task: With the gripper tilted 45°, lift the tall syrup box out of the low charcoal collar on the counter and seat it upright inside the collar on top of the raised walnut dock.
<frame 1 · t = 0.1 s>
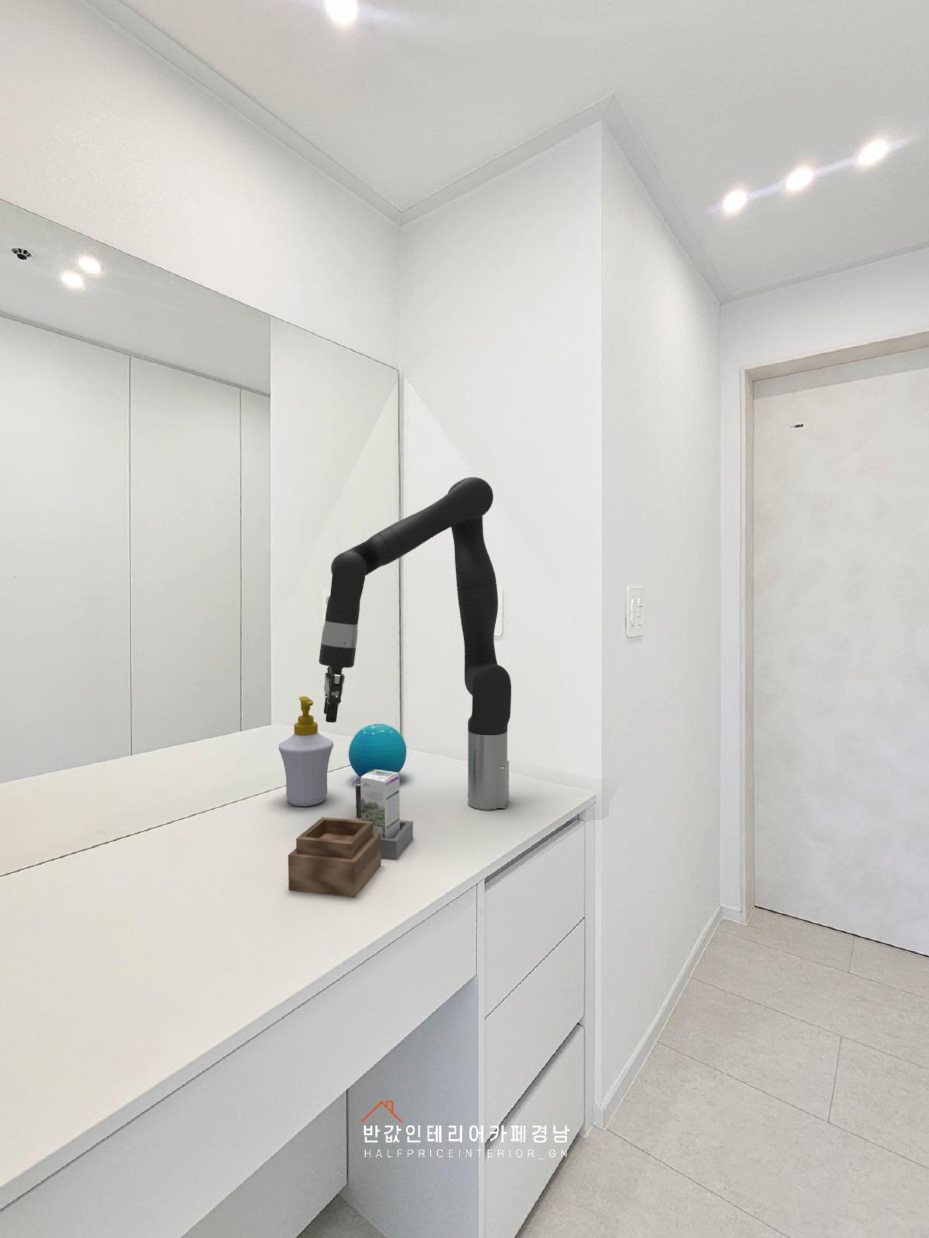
hand: (329, 717, 135), 22 cm above the table, tool pointing down, fingers open, 8 cm apart
syrup box: (380, 847, 123), resting in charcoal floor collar
decorative orb: (378, 781, 163), on the table
soap bottle: (307, 801, 148), on the table
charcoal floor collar: (380, 845, 123), on the table
walnut raised dock: (336, 877, 110), on the table
box: (372, 814, 140), on the table
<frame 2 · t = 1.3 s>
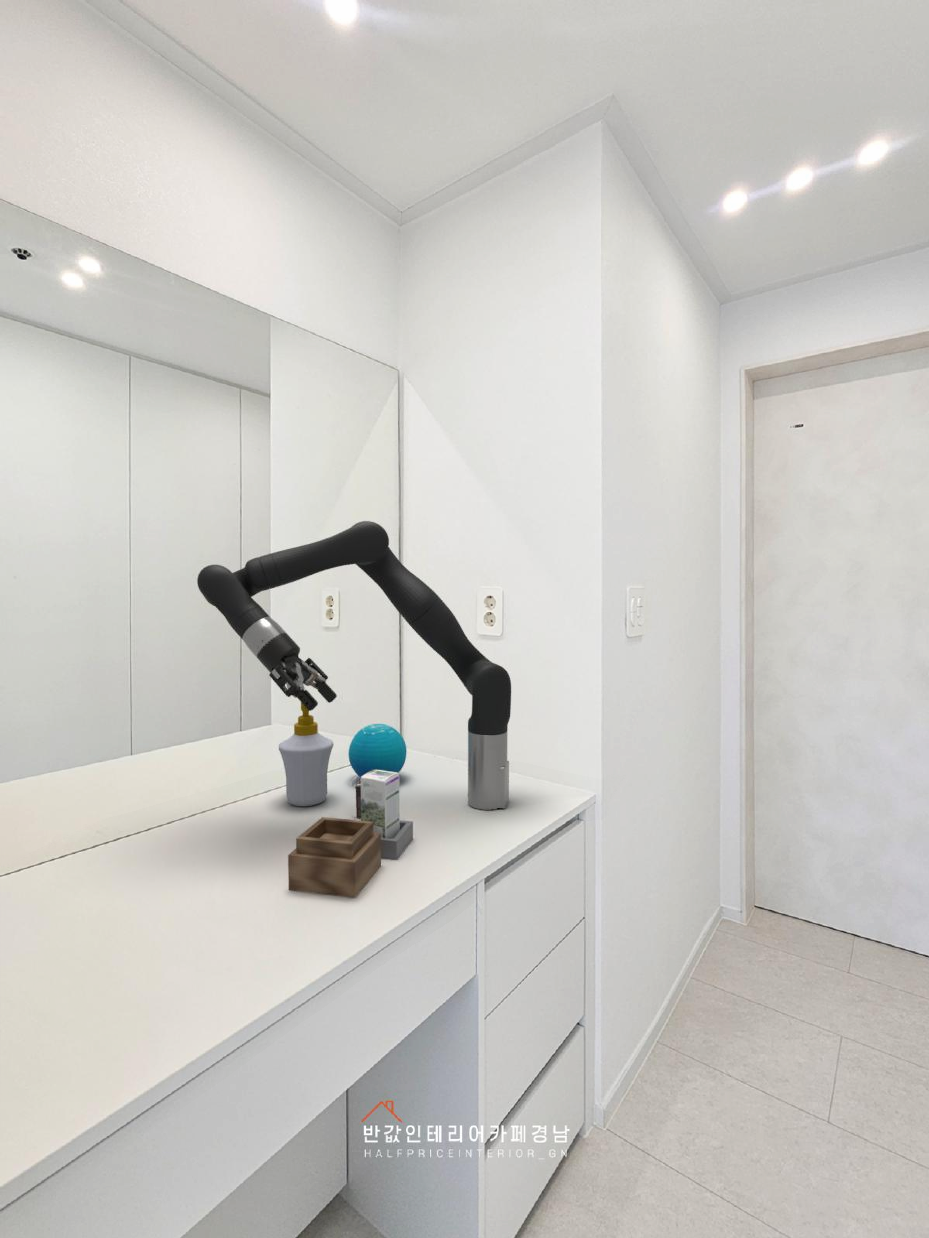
hand: (324, 703, 124), 28 cm above the table, tool tilted 45°, fingers open, 8 cm apart
nothing on the table moved.
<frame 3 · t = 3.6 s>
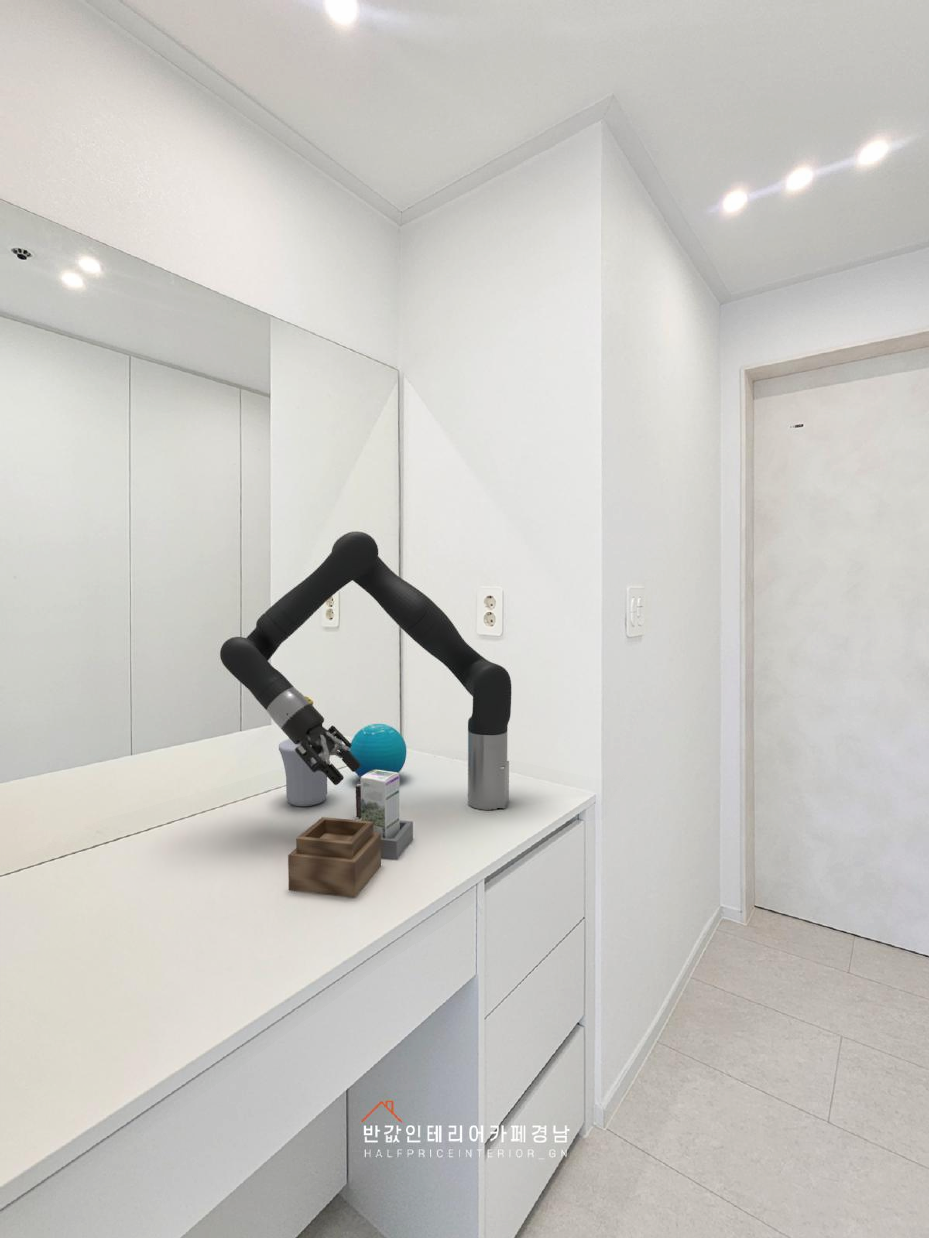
hand: (349, 775, 124), 14 cm above the table, tool tilted 45°, fingers open, 8 cm apart
nothing on the table moved.
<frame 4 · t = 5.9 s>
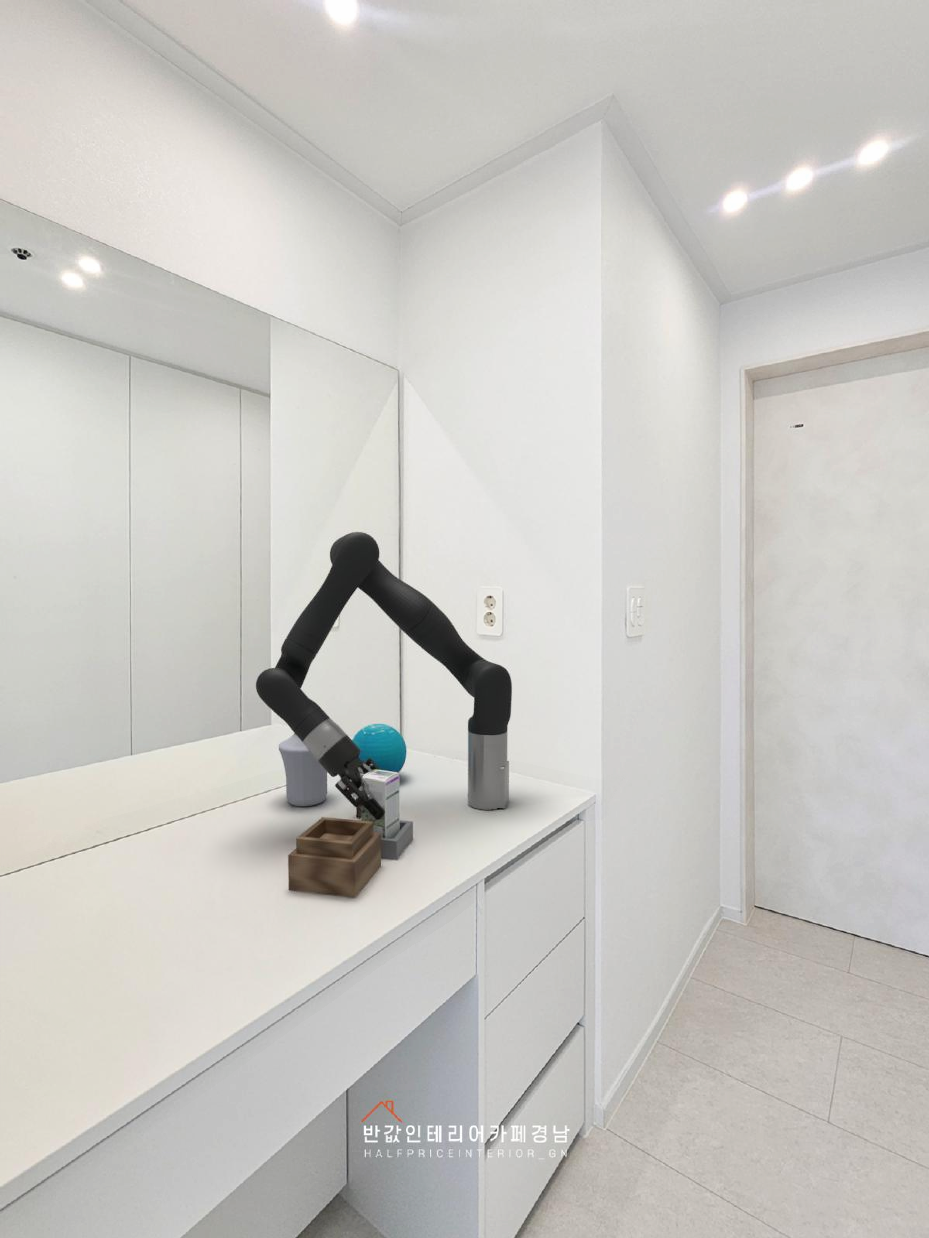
hand: (388, 809, 122), 7 cm above the table, tool tilted 45°, fingers closed on syrup box, 6 cm apart
syrup box: (380, 847, 123), resting in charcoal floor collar, touching gripper
everything else where it was.
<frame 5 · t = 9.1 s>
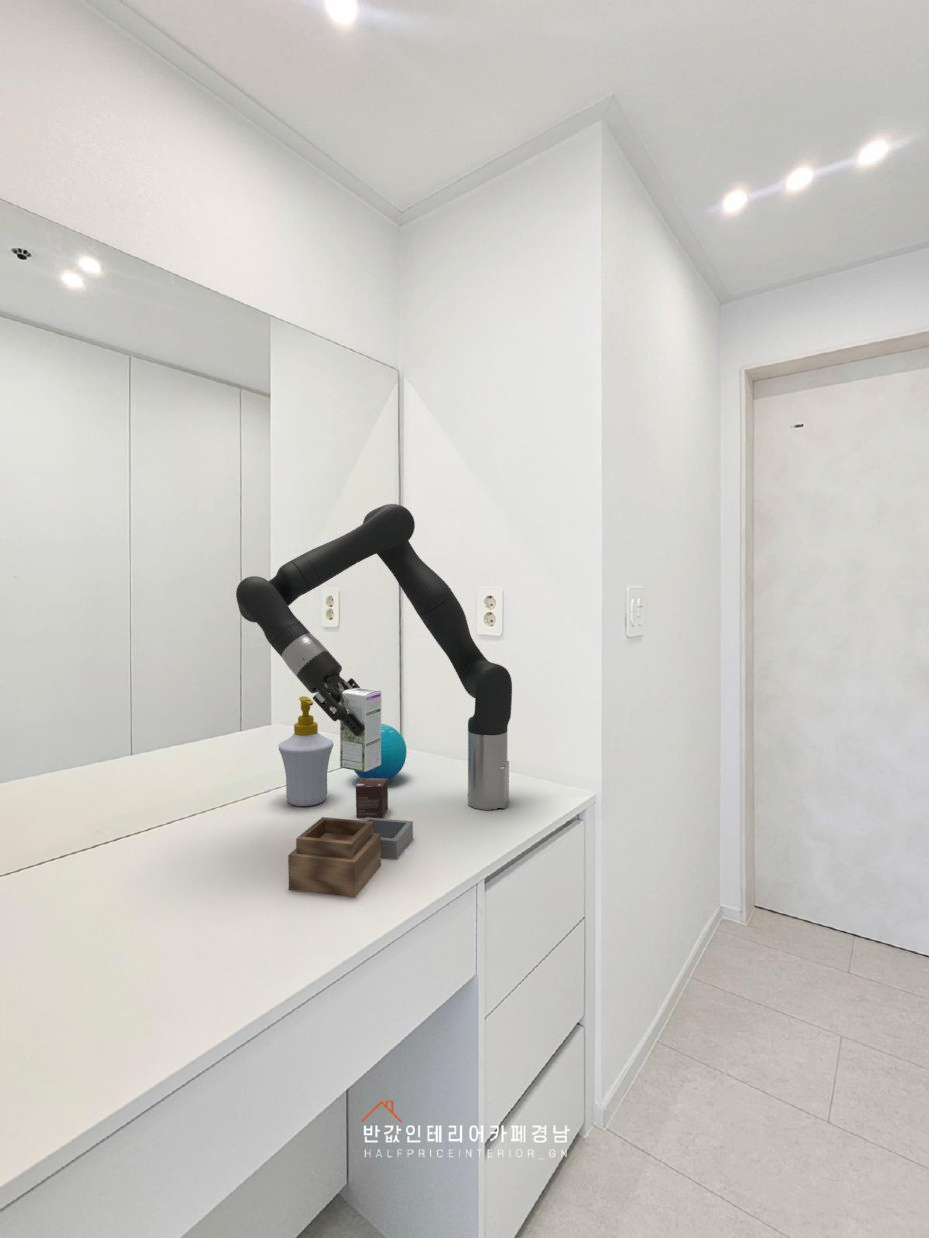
hand: (368, 728, 116), 25 cm above the table, tool tilted 45°, fingers closed on syrup box, 6 cm apart
syrup box: (360, 767, 117), point 17 cm above the table, touching gripper
everything else where it was.
when the fingers open (15 cm above the table, at t = 12.6 s): syrup box drops 1 cm, resting on walnut raised dock.
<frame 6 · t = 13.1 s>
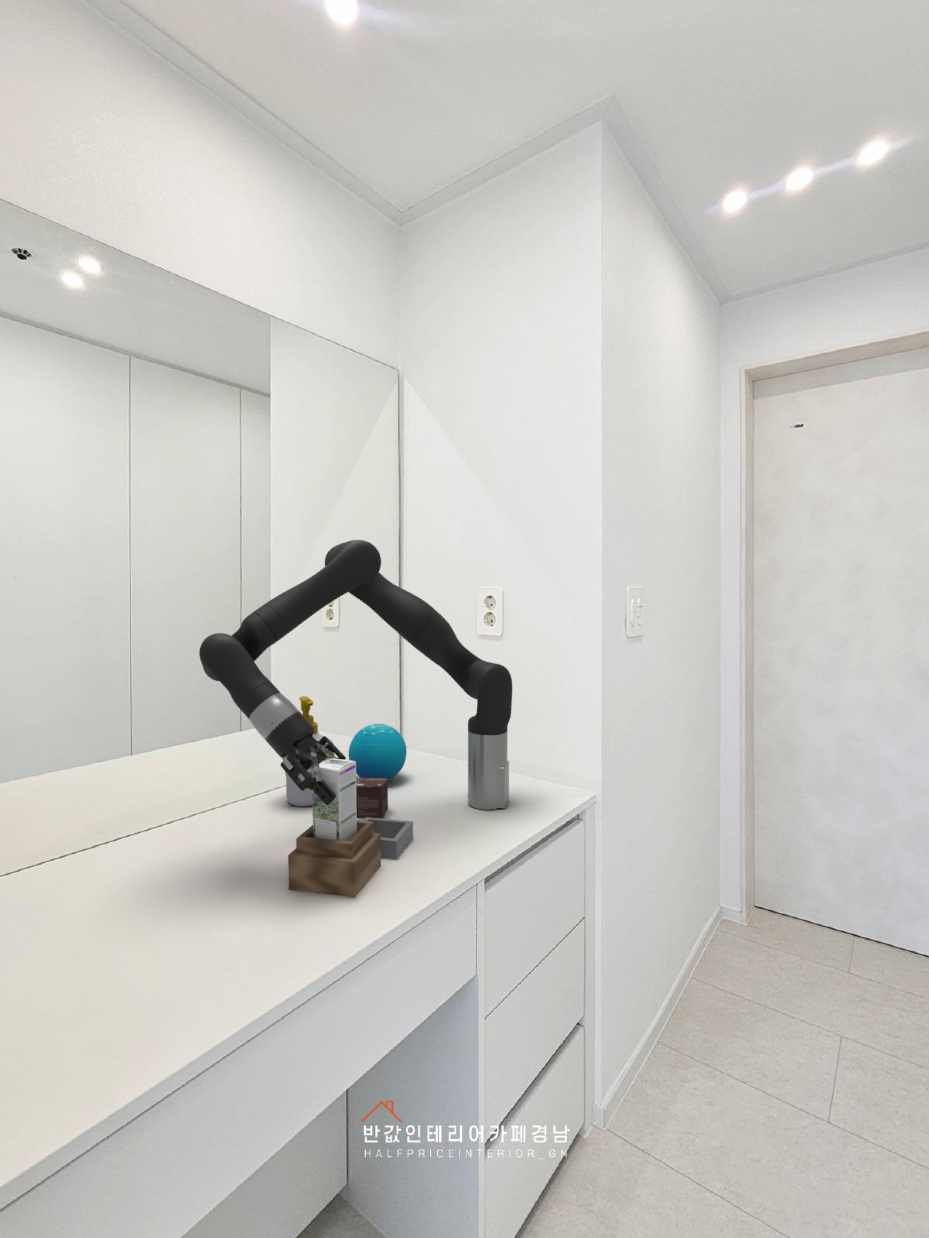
hand: (342, 793, 109), 15 cm above the table, tool tilted 45°, fingers open, 8 cm apart
syrup box: (335, 844, 110), point 6 cm above the table, touching walnut raised dock
everything else where it was.
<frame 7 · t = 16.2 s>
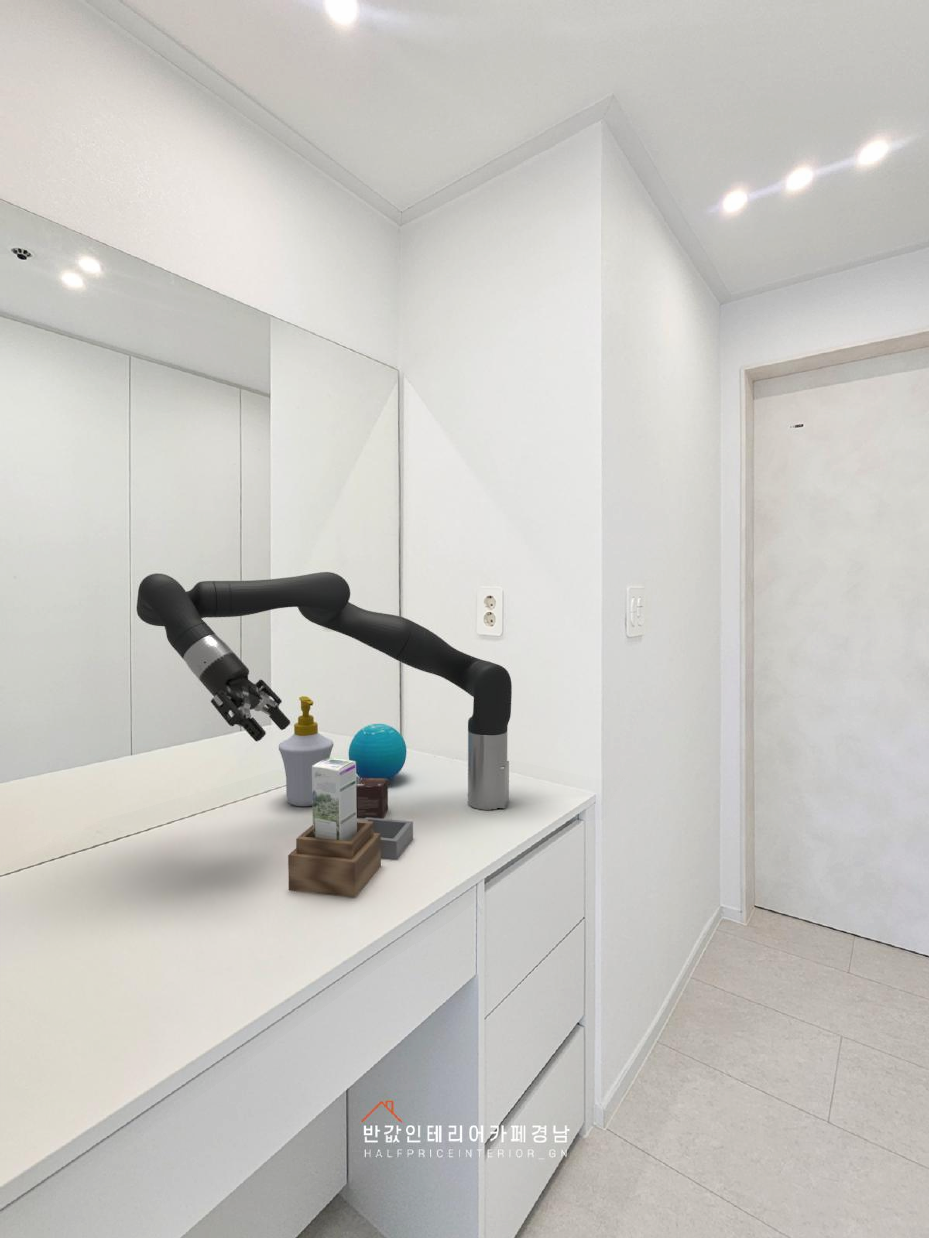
hand: (274, 732, 111), 25 cm above the table, tool tilted 45°, fingers open, 8 cm apart
nothing on the table moved.
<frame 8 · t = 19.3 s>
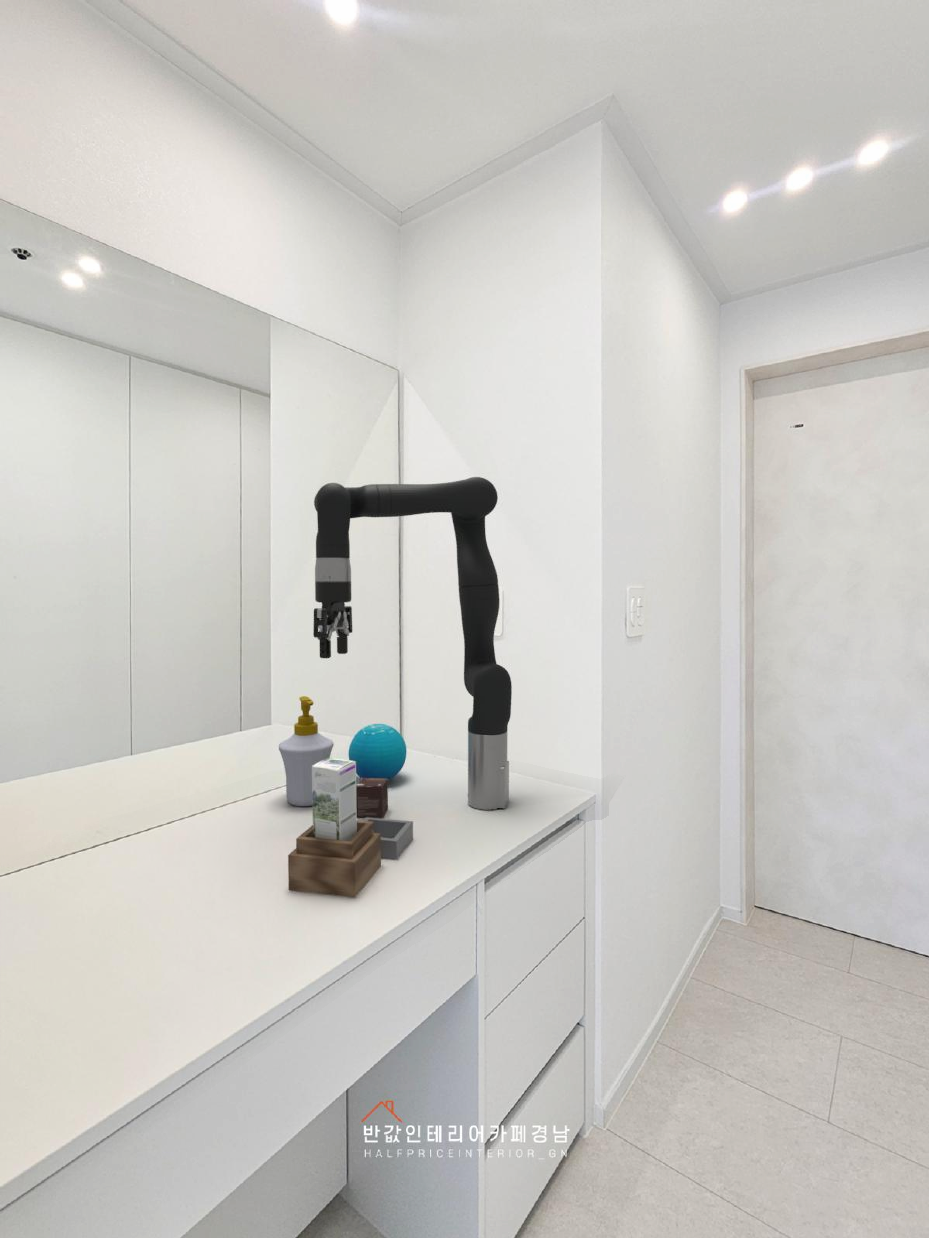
hand: (334, 655, 134), 36 cm above the table, tool pointing down, fingers open, 8 cm apart
nothing on the table moved.
at the end: syrup box 0.2 cm off-centre on the walnut raised dock, point 5.8 cm above the walnut raised dock's base; syrup box tilted 0°; the gripper is holding nothing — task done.
